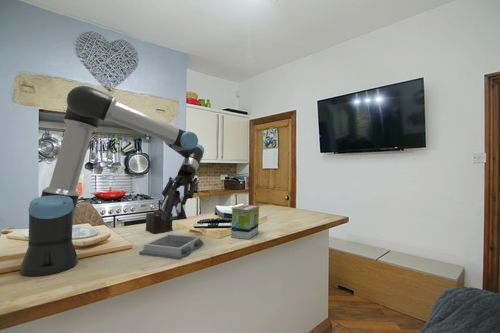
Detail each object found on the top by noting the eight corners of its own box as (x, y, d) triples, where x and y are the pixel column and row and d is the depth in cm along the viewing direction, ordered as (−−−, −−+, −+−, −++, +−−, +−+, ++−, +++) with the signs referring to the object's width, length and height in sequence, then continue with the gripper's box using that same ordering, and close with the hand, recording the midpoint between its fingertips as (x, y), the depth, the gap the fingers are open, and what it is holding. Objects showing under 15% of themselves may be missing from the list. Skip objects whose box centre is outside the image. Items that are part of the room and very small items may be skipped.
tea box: (249, 240, 124) (250, 209, 124) (230, 237, 127) (231, 207, 127) (258, 232, 138) (259, 205, 138) (241, 230, 141) (241, 204, 141)
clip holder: (139, 254, 100) (139, 245, 100) (168, 240, 120) (168, 233, 120) (181, 259, 95) (181, 250, 95) (205, 244, 115) (205, 236, 115)
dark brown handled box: (155, 234, 130) (155, 199, 130) (145, 230, 138) (145, 197, 138) (181, 229, 142) (182, 197, 142) (171, 226, 149) (171, 195, 149)
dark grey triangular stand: (165, 221, 101) (165, 191, 101) (160, 218, 106) (160, 189, 106) (186, 218, 106) (187, 189, 106) (181, 216, 111) (181, 188, 111)
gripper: (209, 175, 121) (195, 216, 105) (172, 174, 124) (153, 214, 108) (205, 164, 115) (189, 205, 99) (167, 163, 119) (145, 203, 103)
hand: (170, 210), depth 104 cm, fingers closed on dark grey triangular stand, 6 cm apart
